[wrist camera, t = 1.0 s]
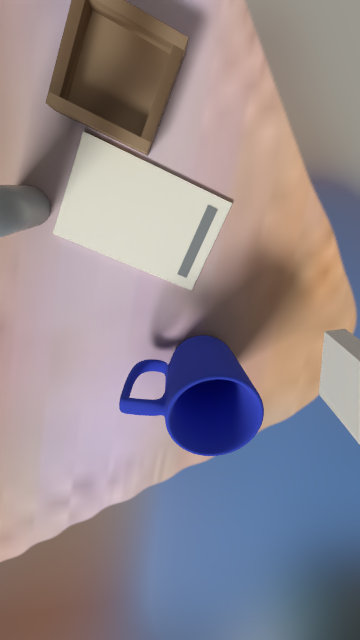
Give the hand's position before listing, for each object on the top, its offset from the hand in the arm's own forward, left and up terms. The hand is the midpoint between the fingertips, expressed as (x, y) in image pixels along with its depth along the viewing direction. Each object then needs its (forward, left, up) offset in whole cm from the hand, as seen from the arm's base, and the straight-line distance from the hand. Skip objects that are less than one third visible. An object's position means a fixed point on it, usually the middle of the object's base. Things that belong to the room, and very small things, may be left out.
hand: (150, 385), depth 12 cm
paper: (-3, +3, -22) cm, 22 cm away
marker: (-12, 0, -22) cm, 25 cm away
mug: (+7, -9, -22) cm, 24 cm away
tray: (-8, +12, -22) cm, 26 cm away
